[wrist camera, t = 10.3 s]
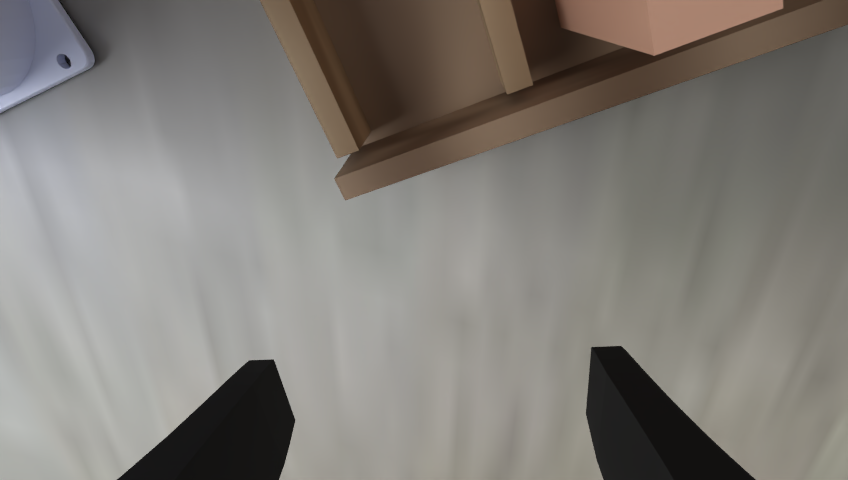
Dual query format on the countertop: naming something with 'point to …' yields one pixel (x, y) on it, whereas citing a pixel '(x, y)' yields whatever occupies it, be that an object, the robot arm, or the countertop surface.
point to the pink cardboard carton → (658, 20)
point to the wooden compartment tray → (483, 73)
